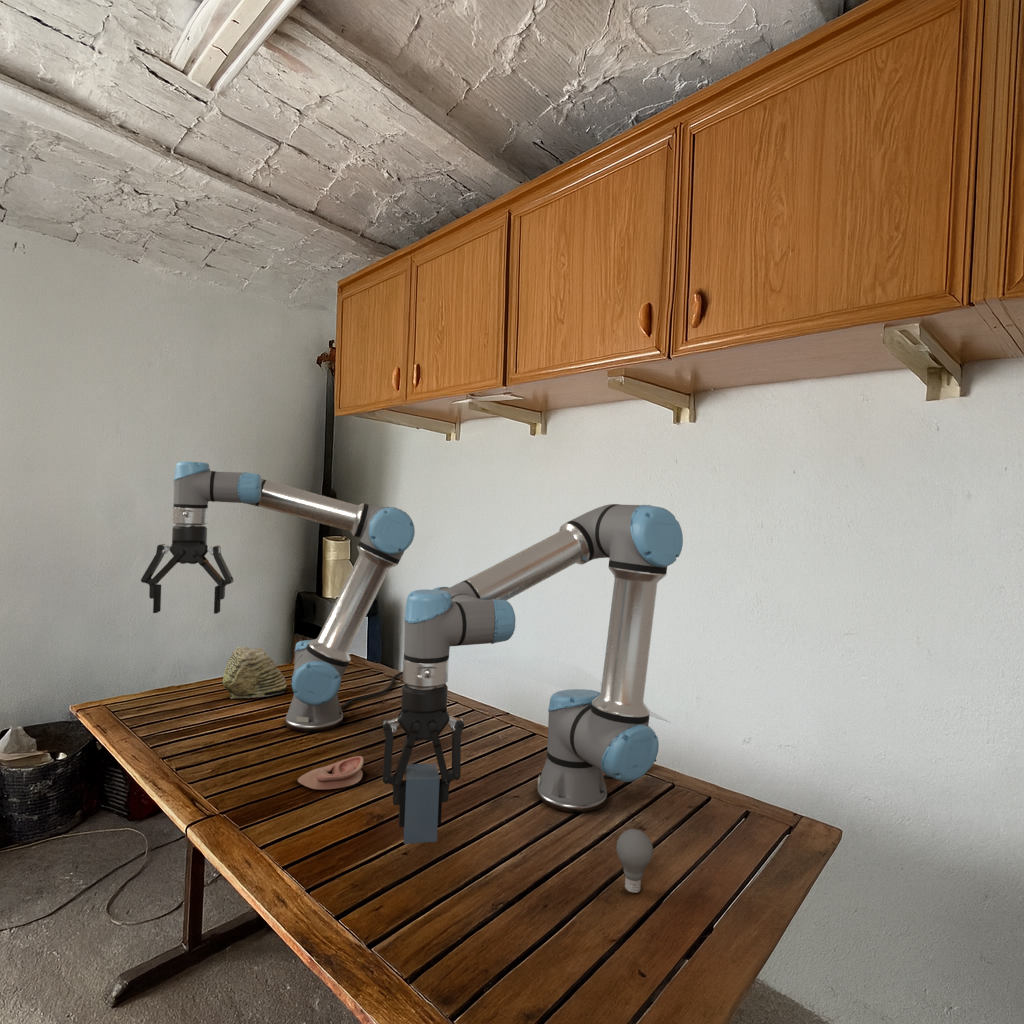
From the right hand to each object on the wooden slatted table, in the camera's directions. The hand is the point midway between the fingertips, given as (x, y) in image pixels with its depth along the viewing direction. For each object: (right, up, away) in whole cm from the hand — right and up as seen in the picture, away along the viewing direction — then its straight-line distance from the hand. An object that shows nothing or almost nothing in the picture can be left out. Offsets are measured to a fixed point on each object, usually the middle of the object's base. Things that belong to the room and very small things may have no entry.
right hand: (419, 821), depth 106 cm
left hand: (-64, +27, +48) cm, 84 cm away
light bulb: (+36, -12, 0) cm, 37 cm away
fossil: (-65, -6, +92) cm, 113 cm away
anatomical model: (-25, -8, +36) cm, 45 cm away
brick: (0, -2, 0) cm, 2 cm away
